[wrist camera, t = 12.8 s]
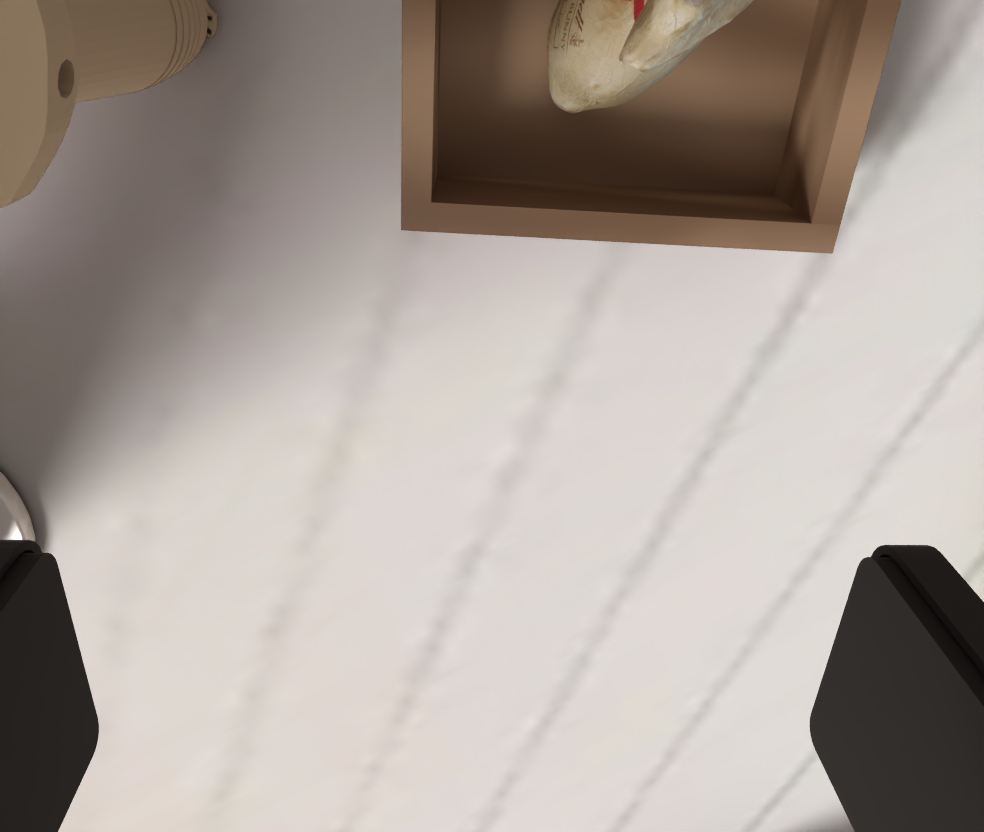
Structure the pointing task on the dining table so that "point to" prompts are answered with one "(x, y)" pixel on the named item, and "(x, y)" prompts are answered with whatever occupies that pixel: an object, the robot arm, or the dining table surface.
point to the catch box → (640, 129)
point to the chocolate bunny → (624, 46)
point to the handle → (81, 67)
